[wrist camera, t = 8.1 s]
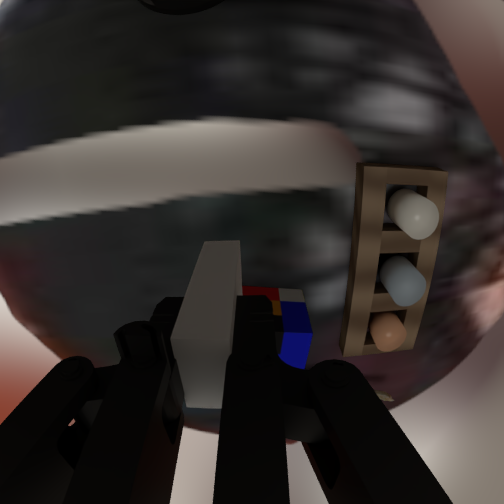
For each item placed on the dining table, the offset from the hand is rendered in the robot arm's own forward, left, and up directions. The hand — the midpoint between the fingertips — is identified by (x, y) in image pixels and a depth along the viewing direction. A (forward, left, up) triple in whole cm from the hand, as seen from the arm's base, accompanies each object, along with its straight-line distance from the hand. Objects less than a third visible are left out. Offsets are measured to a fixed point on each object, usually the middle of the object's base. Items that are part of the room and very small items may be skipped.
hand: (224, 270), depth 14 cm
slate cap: (+13, +20, -24) cm, 34 cm away
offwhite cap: (+4, +20, -24) cm, 31 cm away
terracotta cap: (+22, +20, -26) cm, 39 cm away
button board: (+13, +20, -26) cm, 36 cm away
